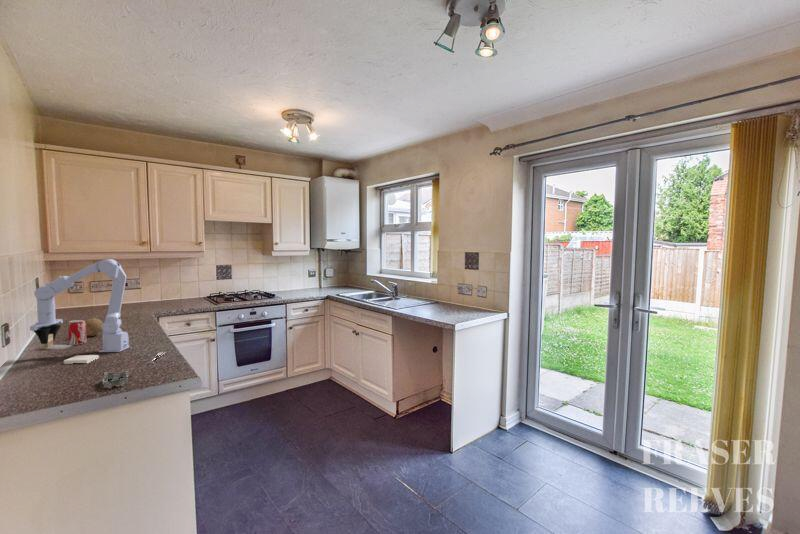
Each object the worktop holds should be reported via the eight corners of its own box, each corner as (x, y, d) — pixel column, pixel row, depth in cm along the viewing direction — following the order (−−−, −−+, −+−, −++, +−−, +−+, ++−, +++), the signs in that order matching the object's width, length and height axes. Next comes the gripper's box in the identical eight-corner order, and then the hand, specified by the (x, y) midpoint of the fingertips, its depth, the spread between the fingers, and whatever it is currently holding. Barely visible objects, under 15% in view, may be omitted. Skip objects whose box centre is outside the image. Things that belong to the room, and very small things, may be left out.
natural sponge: (105, 333, 202) (105, 315, 201) (103, 336, 194) (103, 318, 194) (84, 335, 197) (84, 317, 196) (82, 338, 189) (81, 320, 189)
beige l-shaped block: (72, 346, 163) (72, 333, 162) (63, 349, 158) (63, 336, 157) (48, 345, 162) (47, 333, 161) (38, 349, 157) (38, 335, 156)
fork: (137, 372, 145) (137, 367, 145) (157, 355, 164) (157, 351, 164) (146, 371, 146) (146, 367, 146) (165, 355, 165) (165, 351, 165)
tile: (76, 359, 158) (98, 359, 159) (63, 364, 151) (86, 364, 152) (76, 355, 158) (98, 354, 159) (63, 360, 151) (86, 360, 152)
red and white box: (75, 346, 176) (74, 322, 175) (64, 345, 177) (63, 321, 177) (90, 342, 183) (89, 319, 182) (79, 341, 184) (78, 318, 183)
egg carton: (104, 381, 134) (104, 370, 134) (129, 377, 138) (129, 367, 138) (101, 391, 125) (100, 379, 125) (127, 386, 129) (127, 375, 129)
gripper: (50, 309, 165) (51, 338, 166) (21, 316, 151) (22, 347, 151) (67, 309, 166) (68, 338, 167) (39, 315, 152) (41, 347, 152)
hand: (47, 342), depth 159 cm, fingers closed on beige l-shaped block, 3 cm apart
